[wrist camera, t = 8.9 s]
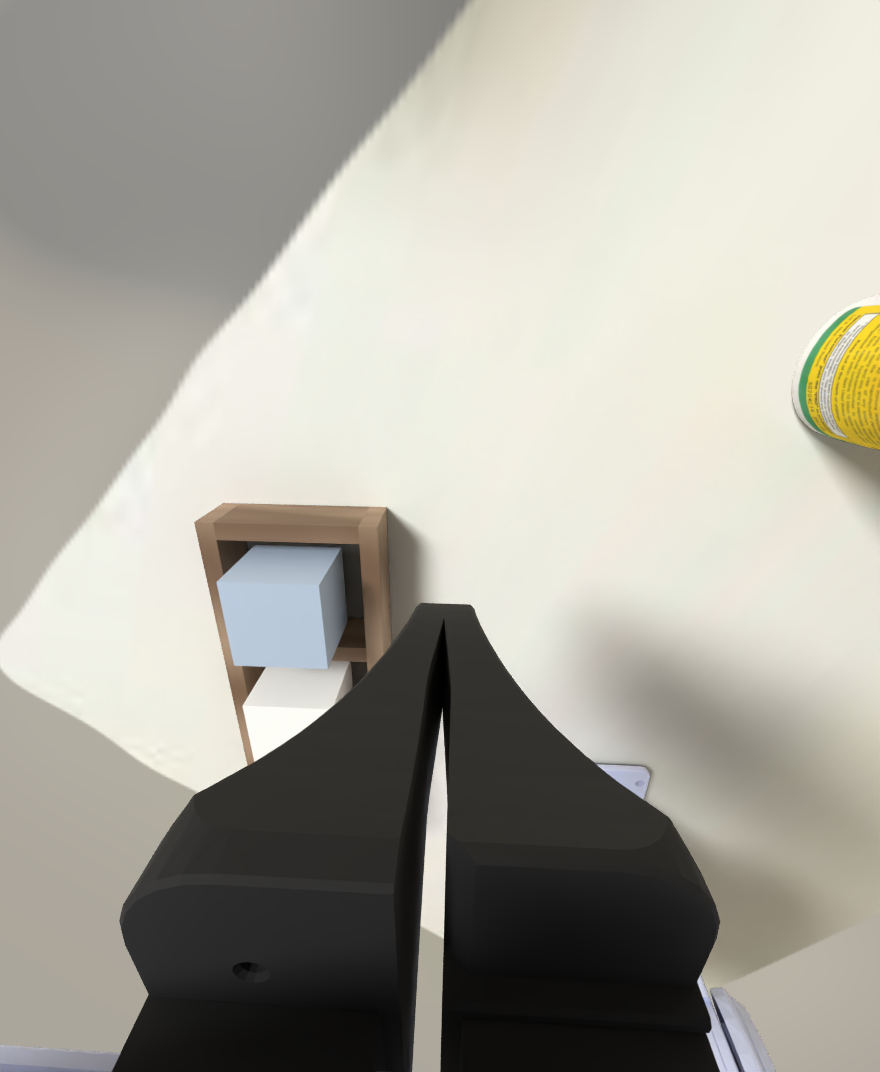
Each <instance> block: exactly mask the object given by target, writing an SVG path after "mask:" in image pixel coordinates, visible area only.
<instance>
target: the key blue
mask: <svg viewBox="0 0 880 1072" xmlns="http://www.w3.org/2000/svg"><path fill="white" fill-rule="evenodd" d="M217 587H218V592H219V597H220V601H221V606H222V611H223V616H224V620H225V625H226V630H227V635H228V639H229V644H230V649H231V654H232V658H233V663H234V666H258V667H284V668H310V669H328V668H329V665H330V663H331V661H332V658H333V656H334V653H335V651H336V649H337V646H338V644H339V641H340V639H341V636H342V634H343V632H344V629H345V627H346V624H347V622H348V621H347V609H346V597H345V584H344V572H343V560H342V548H340V547H305V546H271V545H255V546H254V547H252V548H251V549H250V550H249V551H248V552H247V553H246V554H245V555H244V556H243V557H242V558H241V559H240V560H239V561H238V562H237V563H236V564H235V565H234V566H233V567H232V568H231V569H230V570H229V571H227V572H226V573H225V574H224V575H223V576H222V577H221V578H220V579H219V580H218V581H217Z"/></svg>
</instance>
